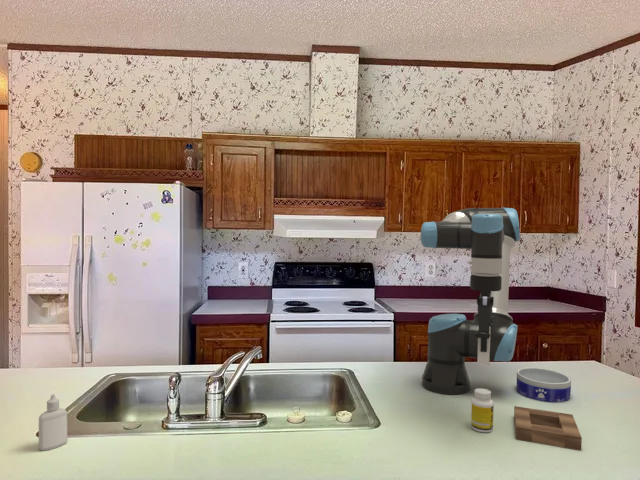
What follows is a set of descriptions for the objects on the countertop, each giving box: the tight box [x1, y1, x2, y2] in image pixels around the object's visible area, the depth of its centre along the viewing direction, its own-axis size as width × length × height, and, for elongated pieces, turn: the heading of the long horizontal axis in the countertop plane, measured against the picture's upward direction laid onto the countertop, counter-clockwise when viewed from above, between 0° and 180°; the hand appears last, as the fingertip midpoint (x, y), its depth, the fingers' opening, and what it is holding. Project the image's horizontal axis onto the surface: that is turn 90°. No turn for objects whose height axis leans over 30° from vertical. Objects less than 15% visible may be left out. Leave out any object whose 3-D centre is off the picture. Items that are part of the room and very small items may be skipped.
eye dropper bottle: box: [38, 393, 68, 451], centre depth 104 cm, size 4×6×12 cm
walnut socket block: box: [513, 405, 583, 451], centre depth 114 cm, size 14×14×3 cm
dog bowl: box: [516, 366, 572, 404], centre depth 141 cm, size 15×15×6 cm
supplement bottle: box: [470, 387, 495, 433], centre depth 116 cm, size 5×5×10 cm
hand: (483, 357), depth 115 cm, fingers open, 13 cm apart
